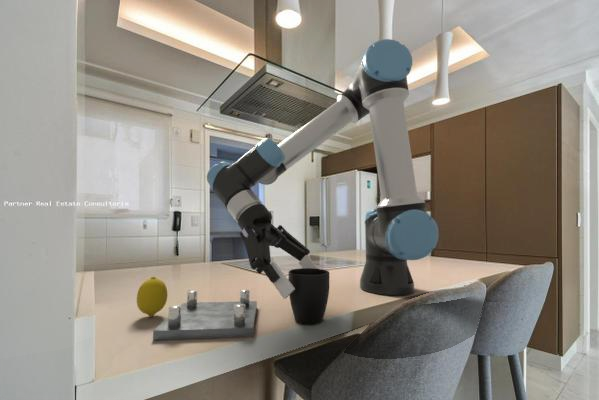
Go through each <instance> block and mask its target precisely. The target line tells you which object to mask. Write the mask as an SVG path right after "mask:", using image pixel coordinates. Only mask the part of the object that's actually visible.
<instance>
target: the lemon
mask: <svg viewBox="0 0 599 400" xmlns="http://www.w3.org/2000/svg"><path fill="white" fill-rule="evenodd" d="M167 300H168V288H167V286H166V283H165V281H164V280H162V279H160V278H157V277H156V276H151V277H150V278H149V279H146V280H145V281H143V282H142V283H141V285H140V287H139V288H138V291H137V294H136V304H137V309H138V310H139V311H140V312H141V313H142V314H144V315H145V314H146V315H147V316H148V317H150V318H152V317H154V316H155V315H156V314H157V313H159V312H160V311H162V310H163V308H164V307H165V305H166V303H167Z"/></svg>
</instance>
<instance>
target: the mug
mask: <svg viewBox="0 0 599 400" xmlns="http://www.w3.org/2000/svg"><path fill="white" fill-rule="evenodd" d="M287 279H288V280H289V281H290V283H291V284H292V285H293V287H294V288H295V290H294V291H293V292H292V293H291V294H290V295H289V296H288V297H289V300H290V305H291V311H292V313H293V316H294V317H293V318H294V321H295V323H297V324H299V325H303V326H314V325H319V324H321V323H322V322H323V321H324V316H325V313H326V311H327V310H326V309H327V306H328V302H329V301H328V300H329V294H330V271H329V270H327V269H323V268H318V269H315V268H302V267H299V268H292V269H290V270H288V277H287Z"/></svg>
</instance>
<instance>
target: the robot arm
mask: <svg viewBox="0 0 599 400" xmlns="http://www.w3.org/2000/svg"><path fill="white" fill-rule="evenodd" d="M412 67H413V56H412V53H411V51H410V50H409V48H408V47H407V46H406V45H405V44H402V43H400V41H398V40H395V39H392V38H391V39H389V38H385V39H380V40H377V41H375V42H373V43H372V44H371V45H369V47H368V48H367V49H366V51H365V53H364V54H363V55H362V57H361V60H360V63H359V66H358V69H357V70H356V73H355V75H354V77H353V78H352V79H353V80H352V81H351V82H350V84H349V86H347V88H346V89H345V90H344V91H343V92H341V94H338V96H337V98H336V102H334V103H333V104H332V105H330V106H329V107H328V108H326V109H325V110H323V111H322V112H320V113H319V114H318V115H317V116H315V117H314V118H313V119H311V120H310V121H309V122H307V123H306V124H304V125H303V126H302V127H300V128H298V129H297V130H296V131H295V132H294V133H292V134H291V135H289V136H288V137H286V138H285V139H284V140H282V141H281V142H280V143H279V144H277V143H276V141H275V140H273V139H272V138H270V137H265V138H264V139H262V140H260V141H259V142H258V143H256V144H255V145H254V146H253V147H252V148H251V149H249V150H248V151H246V153H244V154H243V155H242V156H241V157H240V158H239V159H237V160H236V161H235V162H233V163H232V164H231V163H229V162H227V161H220V162H219V163H218V164H217V163H216V164H214V165H212V167H211V168H210V169H209V170H208V171H207V173H206V181H207V184H209V186H210V188H211V190H212V192H213V193H214V194H215V196H216V197H217V198H218V199H219V201H220V202H221V203H222V205H223V206H224V207H225V208H226V210H227V211H228V213H229V214H230V215H231V216H232V219H233V220H234V222H235V223H237V226H238V227H239V228H240V229H241V232H240V233H239V236H240V237H241V239H242V240H243V243H244V246H245V250H246V254H247V257H248V262H249V265H250V268H251V269H252V270H256V272H257V274H262V273H264V274H265V275H266V277H267V278H268V279H269V282H271V283H272V284H273V286H274V287H275V289H276V290H277V291H278V293H279V294H280V296H281V297H282V298H283V299H284V300H286V299H287V298H288V297H290V296H289V295H290V294H291V293H292V292H293V291H294V290H295V288H294V287H293V285H292V284H291V283H290V281H289V280H288V277H287V276H286V275H285V273H284V272H283V271H282V269H281V267H279V265H278V264H277V263H276V261H272V259H271V249H270V246H271V247H274V248H277V249H281V250H282V251H284V252H286V253H287V255H288V254H289V255H290V256H292V257H293V258H295V259H296V260H298V261H299V262H298V265H300V268H315V269H319V267H318V266H317V265H316V264H315V263H314V261H313V259H311V258H310V256H309V254H310V253H311V251H310V249H308V247H306V246H305V245H304V244H303V243H301V242H300V241H299V240H298V239H297V238H296V237H294V236H293V235H292V234H290V233H289V232H288V231H287V230H286V229H285V228H284V226H282V225H281V224H279V225H278V226H277V227H275V225H273V224H272V220H273V215H272V213H271V211H269V210H268V208H267V207H266V206H265V204H263V202H262V200H261V199H260V198H259V196H257V194H256V193H255V192H254V191H253V190H252V188H253V187H255V186H256V185H257V184H258V183H259V184H261V185H265V186H268V185H269V186H270V185H272V184H273V183H275V182H276V181H277V179H278V178H279V177H280V176H281V175H282V174H284V173H285V172H286V171H287V170H289V169H290V168H292V167H293V166H294V165H296V163H298V162H299V161H300V160H302V159H304V158H305V157H306V156H307V155H309V154H310V153H312V152H313V151H314V150H316V149H317V148H319V146H321V145H322V144H324V143H325V142H326V141H328V140H329V139H330V138H332V137H333V136H335V135H336V134H337V133H339V132H340V131H341V130H342V129H344V128H346V127H347V126H348V125H349V124H350V123H352V124H356V123H357V122H358V121H360V120H361V119H363V118H364V117H366V116H367V115H369V117H370V118H369V119H370V127H371V133H372V140H373V141H372V142H373V148H374V154H375V155H374V156H375V164H376V170H377V176H378V177H377V178H378V184H379V192H380V199H381V200H380V202H378V204H377V206H376V208H374V209H370V210H368V211H366V213H365V218H364V227H365V228H364V229H365V232H364V234H365V236H364V237H365V263H364V267H363V269H362V272H361V275H360V280H359V287H360V289H361V290H362V291H365V292H368V293H371V294H372V293H373V294H376V295H377V294H378V295H387V296H404V295H405V296H407V295H410V294H413V293H414V292H415V283H414V279H413V276H412V273H411V271H410V268H409V266H408V261H416V260H417V261H418V260H422V259H424V258H426V257H427V256H428V255H430V254H431V253H432V251H433V250H435V248H436V246H437V243H438V241H439V235H440V234H439V228H438V224H437V222H436V220H435V219H434V218H433V217H432V216H431V215H430V214H429V213H428V212H427V205H426V201H425V200H424V199H423V198H421V197H420V196H419V195H418V191H417V184H416V179H415V178H416V177H415V173H414V172H415V170H414V163H413V157H412V151H411V150H412V149H411V145H410V138H409V131H408V124H407V117H406V110H405V101H406V100H407V99H408V98H409V95H410V92H409V90H410V89H409V83H408V80H407V79H408V77H407V76H408V75H409V74H410V72H411V71H412Z"/></svg>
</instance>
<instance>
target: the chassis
mask: <svg viewBox="0 0 599 400" xmlns="http://www.w3.org/2000/svg"><path fill="white" fill-rule="evenodd" d="M239 292H240V293H239V301H213V302H211V301H208V302H207V301H205V302H204V301H203V302H198V290H196V289H195V290H188V291H187V294H186V295H187V296H186V302H182V303H181V304H180V305H179V304H178V305H176V304H175V305H171V306H168V316H167V317H166V319H164V320H163V321H162V322H161V323H160V324H159V325H158V326H157V327H156V328H155V329H154V330H153V332H152V341H171V340H172V341H173V340H175V341H176V340H199V339H200V340H201V339H202V340H203V339H225V338H226V339H227V338H229V339H230V338H253V336H254V329H255V322H256V315H257V308H258V301H257V300H254V301H253V300H250V292H251V291H250V289H248V288H247V289H245V288H244V289H240V291H239Z"/></svg>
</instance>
